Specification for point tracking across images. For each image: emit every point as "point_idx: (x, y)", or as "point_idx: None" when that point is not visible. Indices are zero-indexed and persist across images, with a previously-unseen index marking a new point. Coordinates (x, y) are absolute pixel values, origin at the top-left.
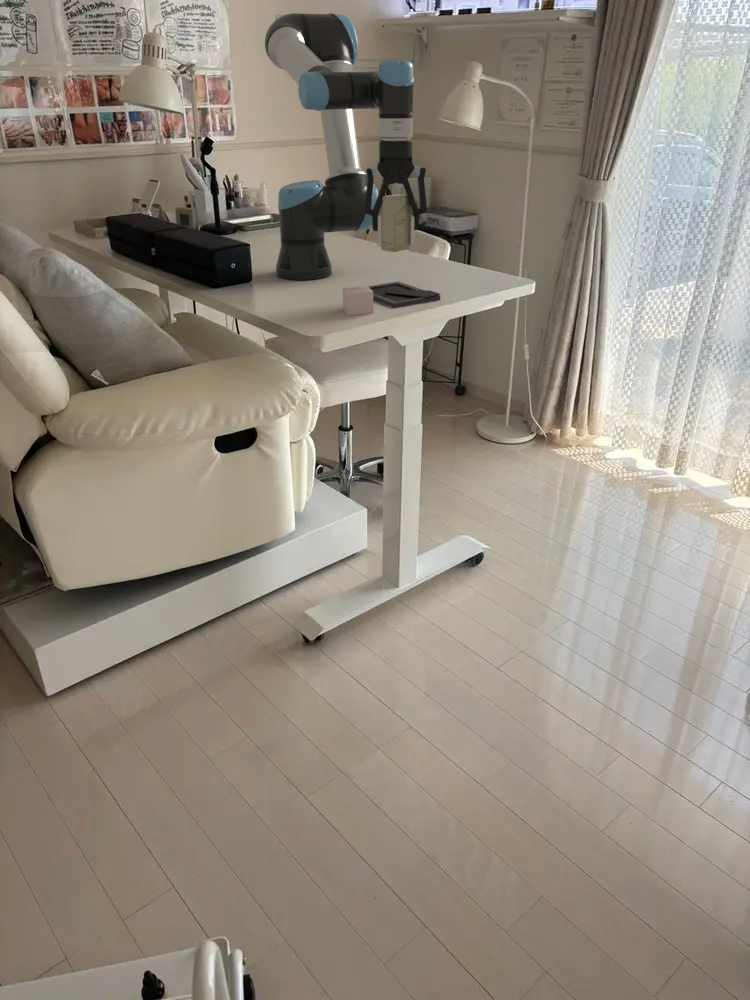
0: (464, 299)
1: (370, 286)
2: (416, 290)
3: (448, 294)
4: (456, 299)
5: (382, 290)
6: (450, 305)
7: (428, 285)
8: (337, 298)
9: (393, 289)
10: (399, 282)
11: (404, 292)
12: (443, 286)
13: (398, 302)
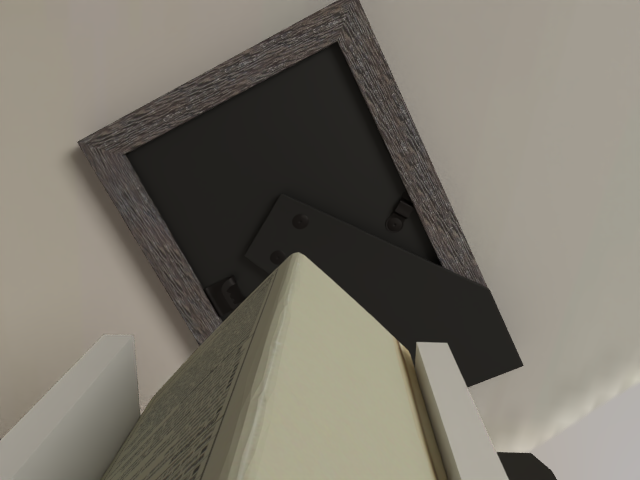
0: (635, 356)
1: (171, 105)
2: (417, 265)
3: (589, 250)
4: (596, 351)
5: (239, 171)
6: (533, 447)
7: (538, 17)
8: (6, 255)
9: (303, 155)
10: (356, 22)
11: (347, 285)
12: (621, 57)
13: None
